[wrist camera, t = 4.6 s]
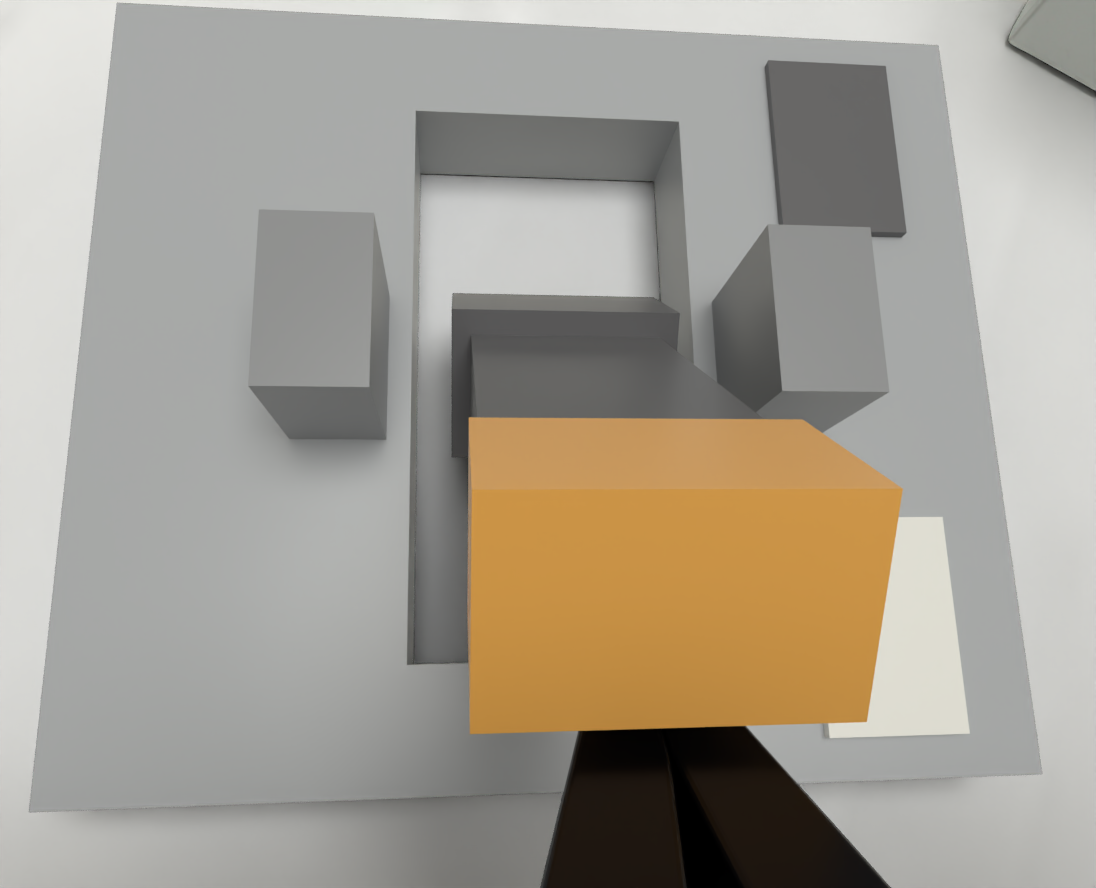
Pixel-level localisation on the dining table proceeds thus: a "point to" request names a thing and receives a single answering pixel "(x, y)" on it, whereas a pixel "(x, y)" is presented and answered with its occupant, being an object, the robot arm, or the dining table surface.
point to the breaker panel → (392, 377)
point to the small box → (1060, 36)
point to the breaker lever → (652, 532)
